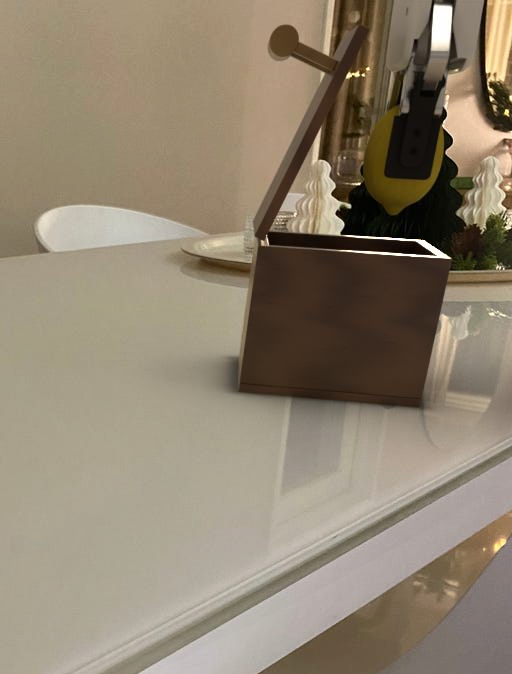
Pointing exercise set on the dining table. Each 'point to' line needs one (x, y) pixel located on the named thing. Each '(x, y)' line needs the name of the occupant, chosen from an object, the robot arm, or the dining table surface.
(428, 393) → the dining table surface
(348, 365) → the chest
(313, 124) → the lid
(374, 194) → the lemon
